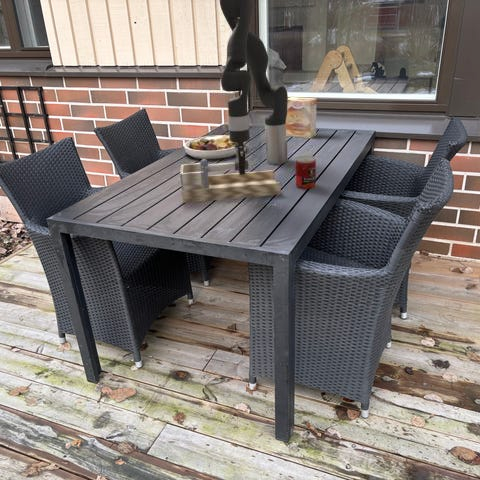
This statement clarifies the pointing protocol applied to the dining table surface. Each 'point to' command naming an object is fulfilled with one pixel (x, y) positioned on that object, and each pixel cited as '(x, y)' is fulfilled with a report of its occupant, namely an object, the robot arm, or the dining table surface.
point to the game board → (225, 184)
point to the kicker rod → (219, 168)
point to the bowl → (210, 147)
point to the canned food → (305, 172)
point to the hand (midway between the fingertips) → (241, 172)
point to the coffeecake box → (301, 117)
